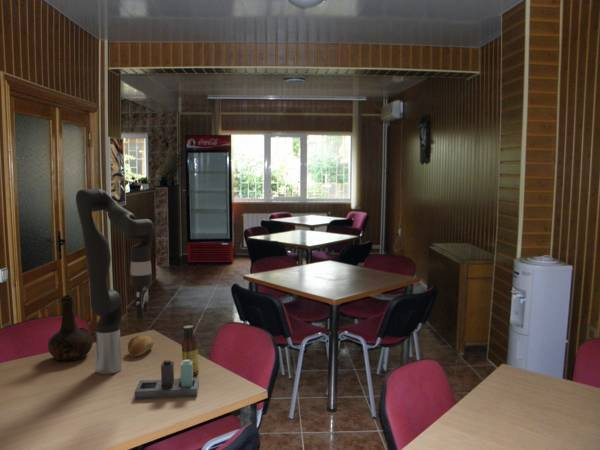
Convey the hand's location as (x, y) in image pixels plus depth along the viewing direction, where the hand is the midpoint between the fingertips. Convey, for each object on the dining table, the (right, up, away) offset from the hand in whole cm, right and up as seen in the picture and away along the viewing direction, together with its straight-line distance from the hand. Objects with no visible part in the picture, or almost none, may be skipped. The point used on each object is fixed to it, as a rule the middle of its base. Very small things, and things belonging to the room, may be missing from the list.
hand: (142, 315), depth 190 cm
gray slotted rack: (+10, -28, -2) cm, 30 cm away
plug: (+17, -28, -1) cm, 33 cm away
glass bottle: (-42, -25, +34) cm, 60 cm away
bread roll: (-13, -25, +40) cm, 49 cm away
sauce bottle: (+15, -27, +16) cm, 34 cm away
